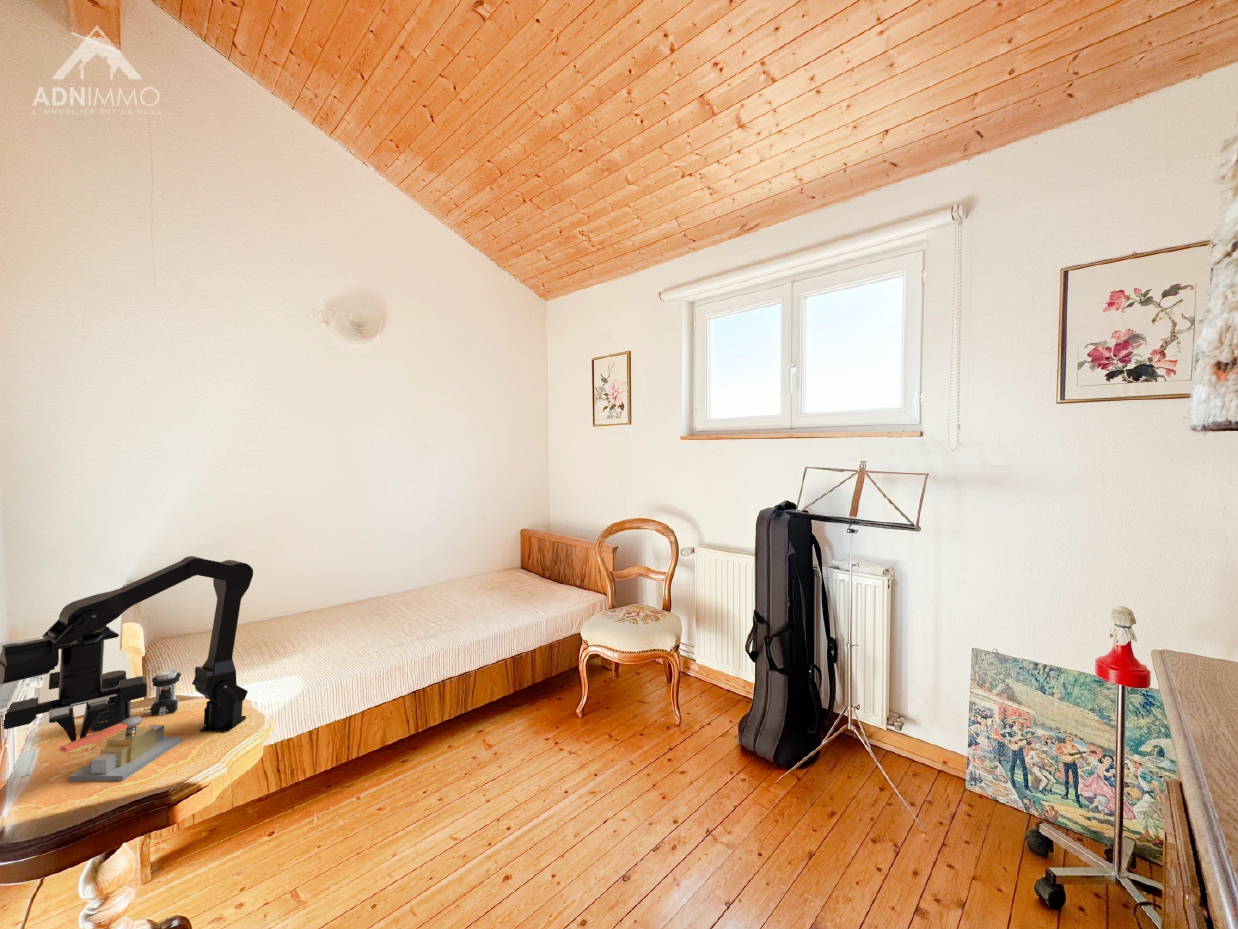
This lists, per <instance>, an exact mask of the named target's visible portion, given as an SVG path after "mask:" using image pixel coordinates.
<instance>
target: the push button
mask: <svg viewBox="0 0 1238 929" xmlns="http://www.w3.org/2000/svg"><path fill="white" fill-rule="evenodd" d="M181 676H182V675H181V672H178V671H177V670H176V669H167V670H163V671H161V672H158V673H157V674H156V675H155V676H154V677H152V679H151V682H152V686H153V687H155V688H156V689H155V700H154V701H153V704H152V705H151V706H150V707H148V708H144V709H142V711H143V713H142V715H147V714H150V715H151V716H161V715H166V714H174V713H175V712H176V711H177V710H178V709H179V699H178V698H177V697H176V686H177V685H176V683H178V682H179V681H180V677H181ZM144 711H146V712H144Z"/></svg>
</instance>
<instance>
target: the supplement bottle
mask: <svg viewBox="0 0 1238 929" xmlns="http://www.w3.org/2000/svg"><path fill="white" fill-rule="evenodd" d="M124 679H128V676H127V671H126V670H122V669H121V670H113V671H108V672H105V673H102V690H103V689H108V688H113V687H118V686H119V681H120V680H124ZM131 710H132V700H130V701H126V702H125V701H123V700H121V699H120V696H117V697H112V698H109V701H108V709H107V710H104V711H101V712H100V714H99V715H98V716H97V718H96V719H95V721H94V722H93V723H92V725H91V727H90V729H89V730H90V731H92V732H98V731H101V730H104V729H106V728H109V727H111V726H114V725H116V724H119V723H121V722H122V721H123V720H125V719H127V718H131Z"/></svg>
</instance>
